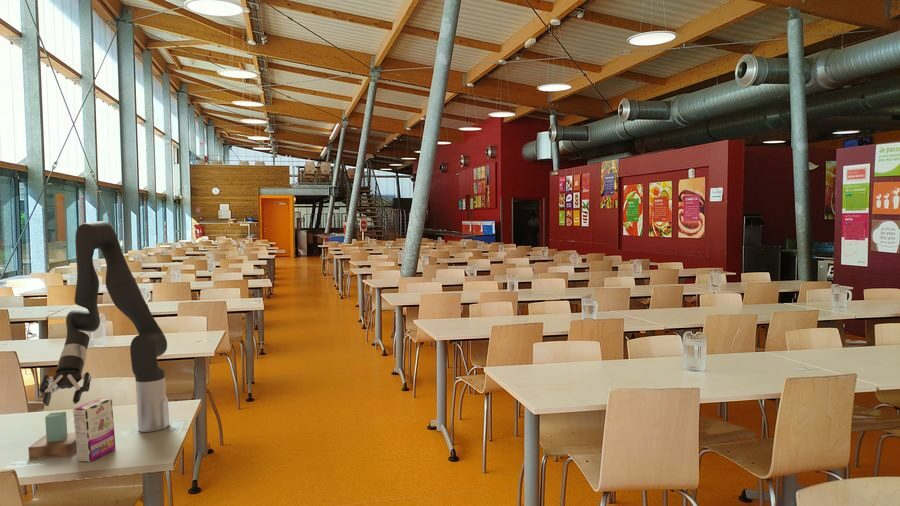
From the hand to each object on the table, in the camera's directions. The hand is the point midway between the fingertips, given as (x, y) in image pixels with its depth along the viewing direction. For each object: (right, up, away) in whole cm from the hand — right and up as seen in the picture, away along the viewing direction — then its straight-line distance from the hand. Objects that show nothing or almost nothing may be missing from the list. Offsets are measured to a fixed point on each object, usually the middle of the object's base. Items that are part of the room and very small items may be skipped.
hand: (60, 403), depth 212 cm
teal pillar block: (+1, -11, -3) cm, 11 cm away
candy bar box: (+16, -14, -8) cm, 23 cm away
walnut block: (+1, -15, -2) cm, 15 cm away
